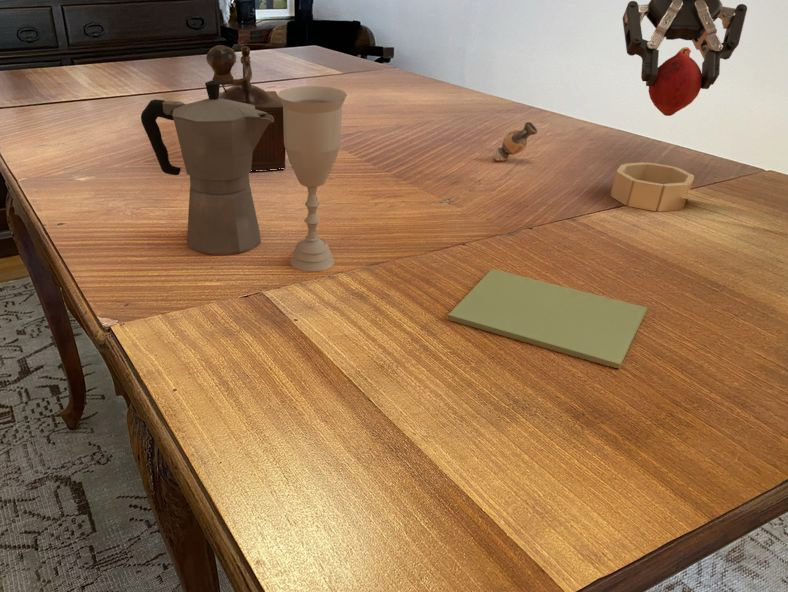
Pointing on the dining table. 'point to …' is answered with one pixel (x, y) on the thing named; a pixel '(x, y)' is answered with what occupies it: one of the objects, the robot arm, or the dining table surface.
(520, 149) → the vase
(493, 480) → the dining table surface
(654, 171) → the octagonal bowl
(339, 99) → the chalice
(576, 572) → the dining table surface
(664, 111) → the onion
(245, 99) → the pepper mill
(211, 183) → the coffeepot
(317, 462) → the dining table surface
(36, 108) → the dining table surface
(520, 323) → the mat
